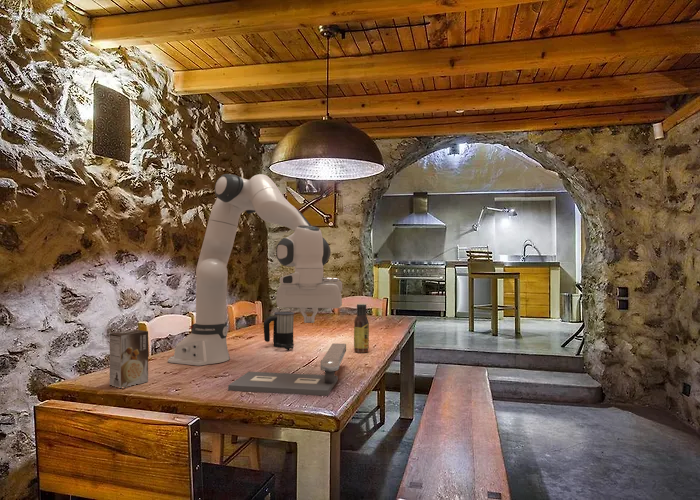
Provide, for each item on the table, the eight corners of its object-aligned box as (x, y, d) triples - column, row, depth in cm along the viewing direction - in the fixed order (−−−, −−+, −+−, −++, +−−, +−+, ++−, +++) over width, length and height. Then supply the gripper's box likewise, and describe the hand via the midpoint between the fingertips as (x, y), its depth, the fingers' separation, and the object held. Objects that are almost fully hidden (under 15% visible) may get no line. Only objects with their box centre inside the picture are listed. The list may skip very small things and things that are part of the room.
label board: (228, 390, 130) (228, 373, 130) (248, 376, 146) (248, 360, 146) (329, 395, 126) (329, 378, 126) (339, 380, 141) (339, 364, 141)
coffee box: (136, 379, 142) (137, 329, 142) (148, 382, 138) (149, 331, 139) (108, 386, 134) (109, 333, 134) (120, 389, 131) (121, 335, 131)
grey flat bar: (331, 350, 161) (331, 343, 161) (347, 350, 160) (347, 343, 160) (319, 371, 131) (319, 362, 131) (337, 371, 131) (337, 363, 131)
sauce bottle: (367, 353, 181) (367, 305, 181) (352, 353, 182) (352, 304, 182) (369, 350, 187) (370, 303, 188) (355, 349, 188) (355, 303, 189)
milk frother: (285, 343, 203) (285, 310, 203) (308, 347, 193) (308, 313, 193) (260, 347, 192) (260, 313, 193) (283, 352, 182) (283, 317, 182)
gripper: (344, 277, 137) (344, 321, 137) (280, 277, 140) (280, 320, 140) (340, 278, 131) (340, 324, 131) (274, 278, 134) (274, 323, 134)
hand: (309, 322), depth 136 cm, fingers closed
